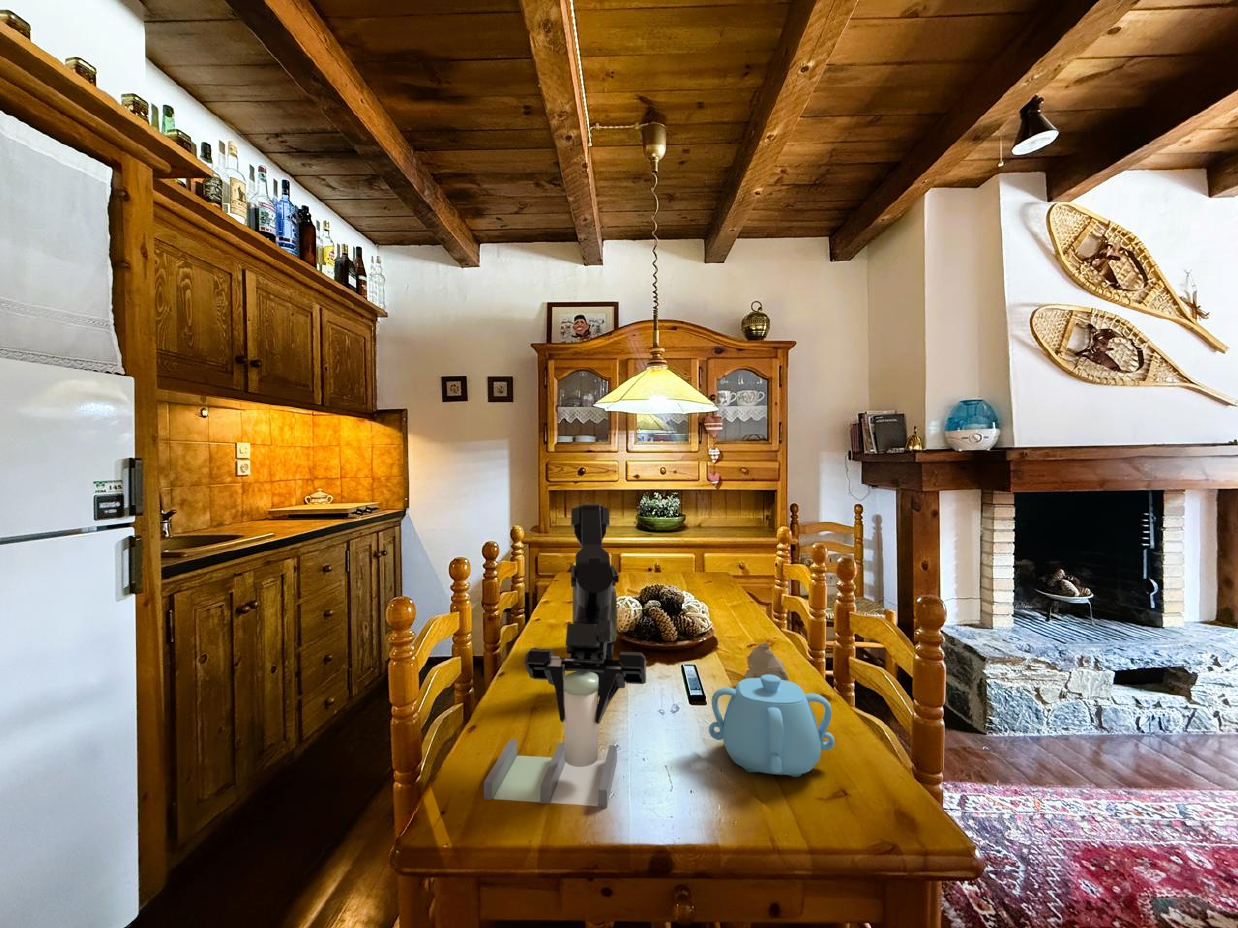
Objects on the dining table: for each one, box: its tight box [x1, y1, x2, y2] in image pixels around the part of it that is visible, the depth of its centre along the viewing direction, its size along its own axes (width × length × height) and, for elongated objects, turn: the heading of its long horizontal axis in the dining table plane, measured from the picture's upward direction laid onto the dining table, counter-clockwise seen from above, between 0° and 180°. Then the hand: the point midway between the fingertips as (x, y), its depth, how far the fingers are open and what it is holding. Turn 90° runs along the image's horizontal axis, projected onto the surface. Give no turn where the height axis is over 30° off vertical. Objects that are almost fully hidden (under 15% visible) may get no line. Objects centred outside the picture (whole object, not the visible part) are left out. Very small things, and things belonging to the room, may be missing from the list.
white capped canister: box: [563, 671, 599, 767], centre depth 83 cm, size 5×5×12 cm
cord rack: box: [483, 739, 618, 809], centre depth 83 cm, size 12×18×4 cm
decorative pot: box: [708, 675, 836, 778], centre depth 91 cm, size 20×20×14 cm
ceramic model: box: [743, 642, 789, 681], centre depth 119 cm, size 14×11×10 cm
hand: (579, 721), depth 81 cm, fingers closed on white capped canister, 5 cm apart
